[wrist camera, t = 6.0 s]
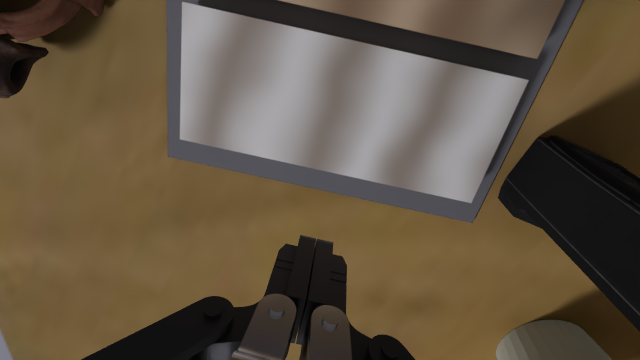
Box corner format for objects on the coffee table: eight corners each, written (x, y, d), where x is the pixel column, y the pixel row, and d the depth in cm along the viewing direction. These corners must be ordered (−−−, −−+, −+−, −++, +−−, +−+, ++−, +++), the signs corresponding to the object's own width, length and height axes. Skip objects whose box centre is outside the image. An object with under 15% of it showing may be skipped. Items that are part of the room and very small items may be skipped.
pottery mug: (-57, -101, 21) (-178, -206, 14) (115, -51, 25) (92, -109, 18) (-42, 89, 23) (-138, 87, 16) (113, 107, 27) (92, 112, 20)
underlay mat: (633, -108, 18) (638, -110, 17) (471, 220, 27) (472, 222, 27) (167, -219, 17) (164, -222, 17) (169, 155, 27) (168, 156, 27)
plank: (515, 76, 22) (528, 80, 20) (463, 192, 26) (471, 203, 24) (194, 4, 21) (182, 1, 20) (190, 132, 25) (179, 139, 24)
